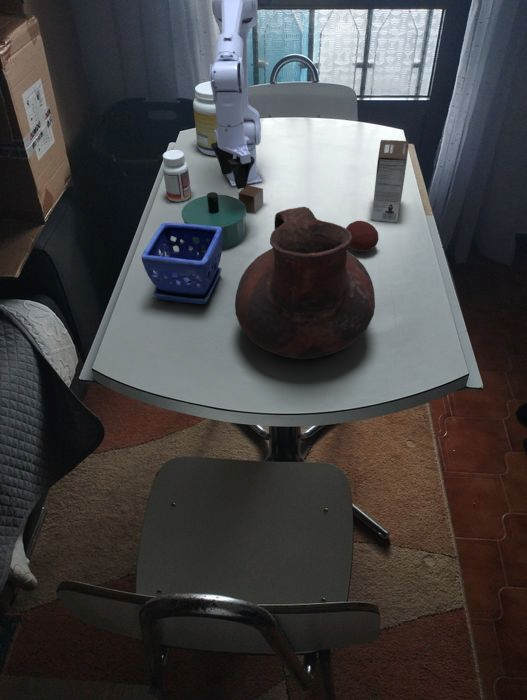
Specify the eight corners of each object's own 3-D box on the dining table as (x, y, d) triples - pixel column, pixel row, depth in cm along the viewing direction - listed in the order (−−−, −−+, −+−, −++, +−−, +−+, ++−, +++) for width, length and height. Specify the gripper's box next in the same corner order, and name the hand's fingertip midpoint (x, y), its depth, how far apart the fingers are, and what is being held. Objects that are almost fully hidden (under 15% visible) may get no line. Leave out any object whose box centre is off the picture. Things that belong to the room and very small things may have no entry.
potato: (348, 260, 130) (350, 236, 126) (337, 239, 136) (339, 216, 131) (381, 255, 131) (384, 232, 126) (368, 235, 137) (371, 212, 132)
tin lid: (203, 193, 143) (201, 174, 139) (257, 206, 138) (256, 186, 134) (169, 223, 134) (166, 203, 130) (226, 238, 128) (224, 217, 125)
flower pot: (147, 305, 120) (137, 256, 112) (169, 267, 130) (161, 219, 122) (211, 313, 118) (205, 263, 110) (228, 274, 127) (224, 225, 119)
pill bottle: (187, 188, 155) (182, 146, 147) (194, 199, 151) (189, 157, 143) (164, 193, 154) (158, 151, 146) (170, 204, 149) (163, 161, 142)
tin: (181, 223, 143) (178, 203, 139) (237, 214, 145) (235, 193, 141) (193, 254, 133) (190, 233, 129) (251, 243, 135) (250, 222, 132)
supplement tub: (227, 160, 166) (222, 98, 154) (189, 152, 170) (182, 91, 158) (247, 142, 174) (244, 82, 162) (211, 135, 178) (205, 76, 166)
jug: (359, 289, 122) (370, 176, 105) (381, 377, 104) (399, 258, 87) (237, 294, 122) (228, 182, 105) (237, 384, 104) (227, 266, 87)
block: (239, 209, 147) (238, 192, 144) (248, 200, 150) (247, 184, 146) (254, 213, 145) (254, 196, 142) (263, 204, 148) (262, 188, 145)
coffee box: (373, 201, 148) (380, 138, 136) (400, 203, 146) (409, 140, 135) (370, 221, 141) (377, 156, 130) (398, 223, 140) (407, 158, 129)
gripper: (262, 129, 123) (264, 189, 132) (232, 106, 133) (236, 163, 142) (231, 137, 121) (235, 197, 130) (203, 112, 130) (209, 170, 140)
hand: (234, 180), depth 136 cm, fingers open, 7 cm apart
